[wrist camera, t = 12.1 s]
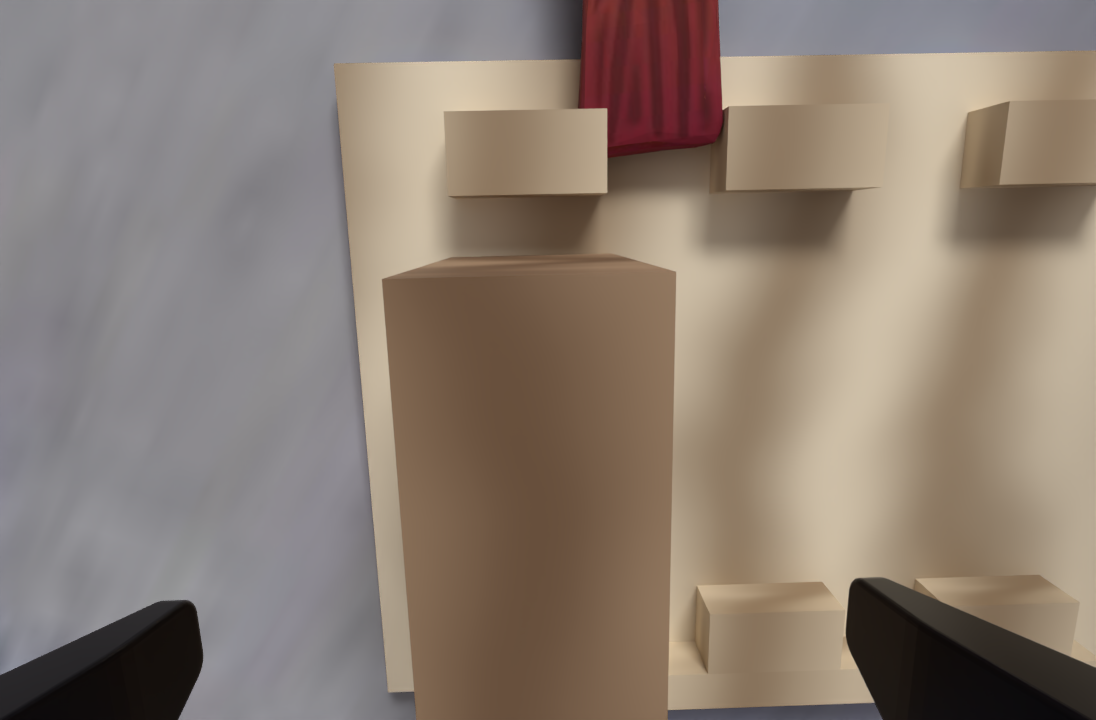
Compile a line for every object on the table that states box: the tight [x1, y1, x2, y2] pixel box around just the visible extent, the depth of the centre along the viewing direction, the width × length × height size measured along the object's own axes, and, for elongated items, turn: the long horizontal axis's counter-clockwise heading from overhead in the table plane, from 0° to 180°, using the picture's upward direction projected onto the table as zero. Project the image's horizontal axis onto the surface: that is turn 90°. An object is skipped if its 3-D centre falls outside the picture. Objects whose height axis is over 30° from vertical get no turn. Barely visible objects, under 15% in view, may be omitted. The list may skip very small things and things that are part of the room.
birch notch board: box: [334, 51, 1096, 710], centre depth 18 cm, size 24×19×3 cm
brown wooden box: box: [382, 253, 676, 720], centre depth 14 cm, size 4×9×8 cm, turn 1°
